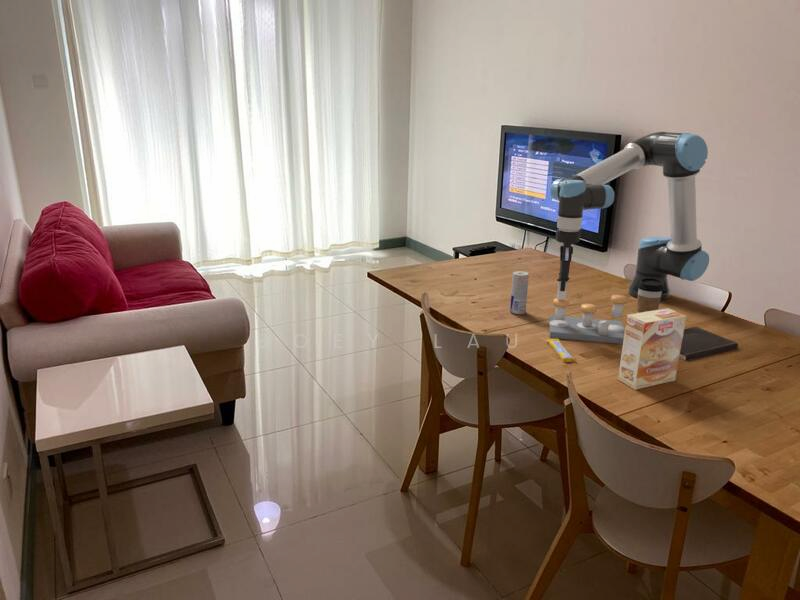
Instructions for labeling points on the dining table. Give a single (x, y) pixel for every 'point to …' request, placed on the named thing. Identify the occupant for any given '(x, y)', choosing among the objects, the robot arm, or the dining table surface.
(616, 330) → the mount board
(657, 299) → the coffee cup
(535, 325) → the dining table surface
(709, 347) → the hardcover book
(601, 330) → the pot dial
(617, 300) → the knob near
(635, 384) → the coffeecake box
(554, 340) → the candy bar
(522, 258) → the dining table surface
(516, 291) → the beverage can
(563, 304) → the knob far
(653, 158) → the robot arm
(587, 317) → the knob middle
